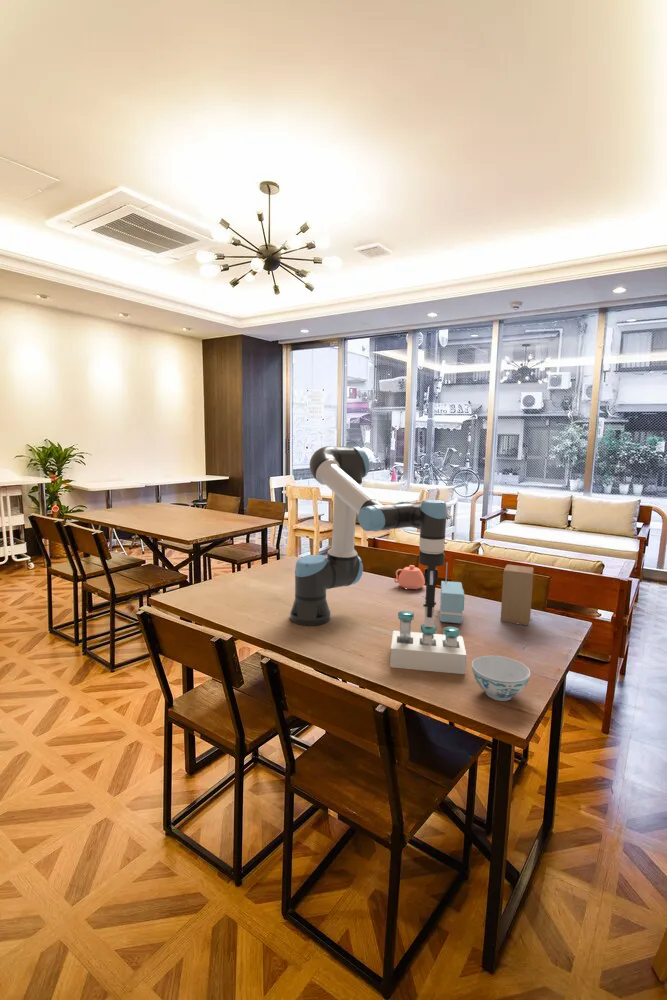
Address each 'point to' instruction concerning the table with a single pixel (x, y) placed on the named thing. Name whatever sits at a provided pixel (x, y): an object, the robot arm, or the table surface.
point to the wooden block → (517, 594)
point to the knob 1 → (405, 626)
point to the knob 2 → (451, 636)
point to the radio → (451, 601)
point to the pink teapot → (410, 578)
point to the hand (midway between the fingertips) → (428, 626)
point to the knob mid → (428, 635)
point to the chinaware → (500, 676)
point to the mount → (428, 654)
